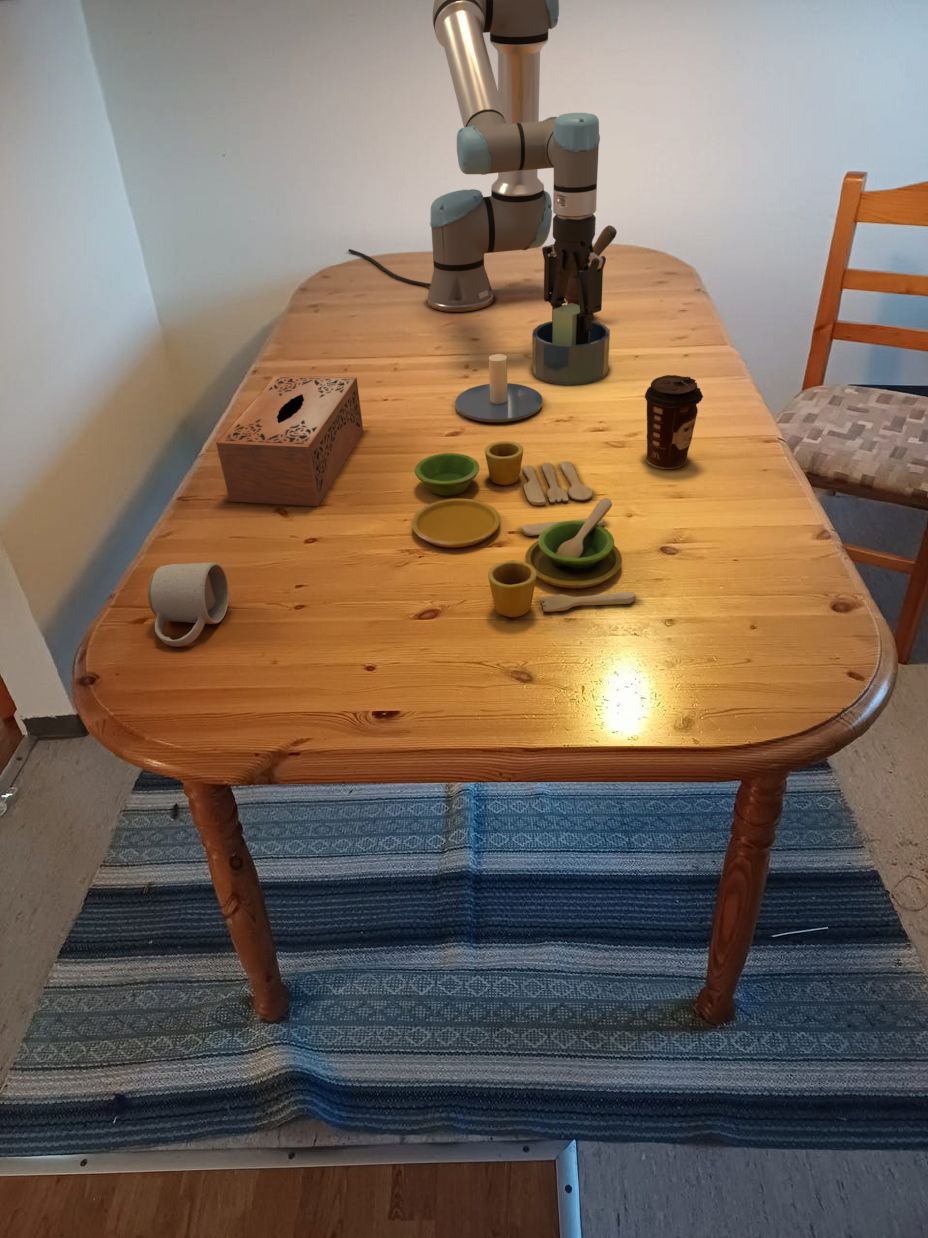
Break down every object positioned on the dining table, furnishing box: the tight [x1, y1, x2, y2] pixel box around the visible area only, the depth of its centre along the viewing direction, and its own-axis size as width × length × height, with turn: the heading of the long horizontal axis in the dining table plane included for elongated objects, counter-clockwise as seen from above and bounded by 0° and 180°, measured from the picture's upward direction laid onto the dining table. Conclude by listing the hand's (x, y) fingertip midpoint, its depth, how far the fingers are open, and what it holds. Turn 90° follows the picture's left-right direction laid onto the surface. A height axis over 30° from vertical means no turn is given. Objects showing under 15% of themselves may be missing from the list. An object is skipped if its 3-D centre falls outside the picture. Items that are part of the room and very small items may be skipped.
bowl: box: [531, 320, 611, 386], centre depth 173 cm, size 15×15×8 cm
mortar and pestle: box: [564, 225, 618, 321], centre depth 191 cm, size 12×9×20 cm
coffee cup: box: [644, 374, 704, 470], centre depth 140 cm, size 9×8×13 cm
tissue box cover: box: [215, 374, 364, 507], centre depth 145 cm, size 26×14×10 cm, turn 169°
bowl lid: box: [454, 353, 544, 423], centre depth 160 cm, size 16×16×9 cm
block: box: [552, 303, 590, 345], centre depth 170 cm, size 5×5×7 cm
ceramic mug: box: [146, 561, 230, 648], centre depth 112 cm, size 11×8×8 cm
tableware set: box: [411, 440, 637, 618], centre depth 126 cm, size 41×28×6 cm
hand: (571, 343), depth 172 cm, fingers closed on block, 5 cm apart
